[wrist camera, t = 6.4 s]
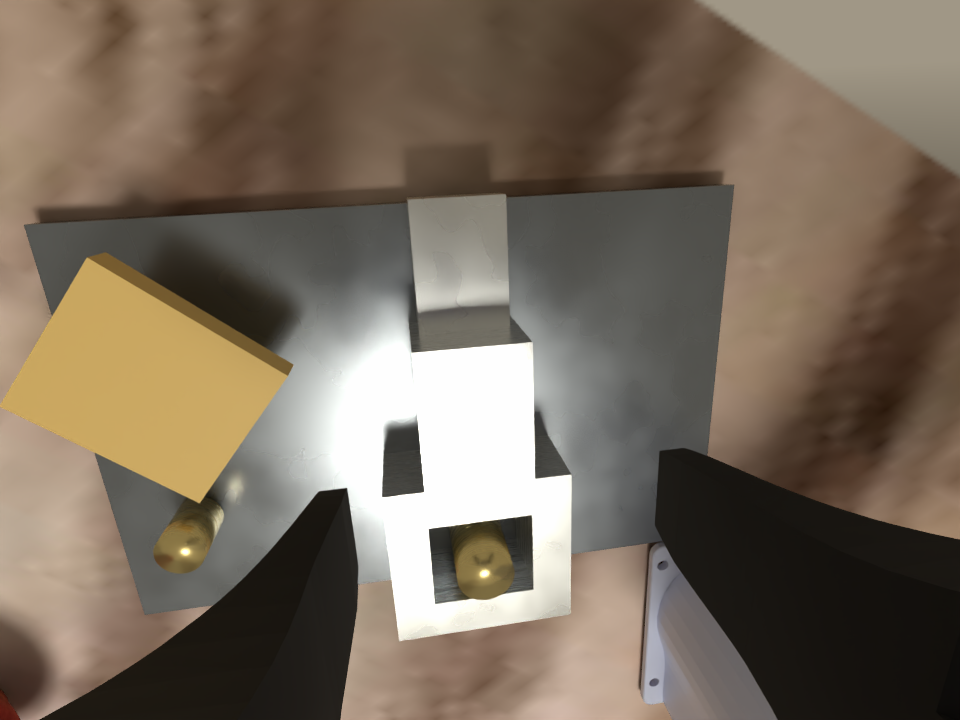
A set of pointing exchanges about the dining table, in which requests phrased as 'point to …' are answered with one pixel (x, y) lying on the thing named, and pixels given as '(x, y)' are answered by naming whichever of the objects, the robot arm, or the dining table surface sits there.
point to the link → (472, 432)
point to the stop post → (188, 536)
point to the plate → (388, 360)
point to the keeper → (145, 378)
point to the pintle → (481, 559)
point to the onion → (6, 709)
